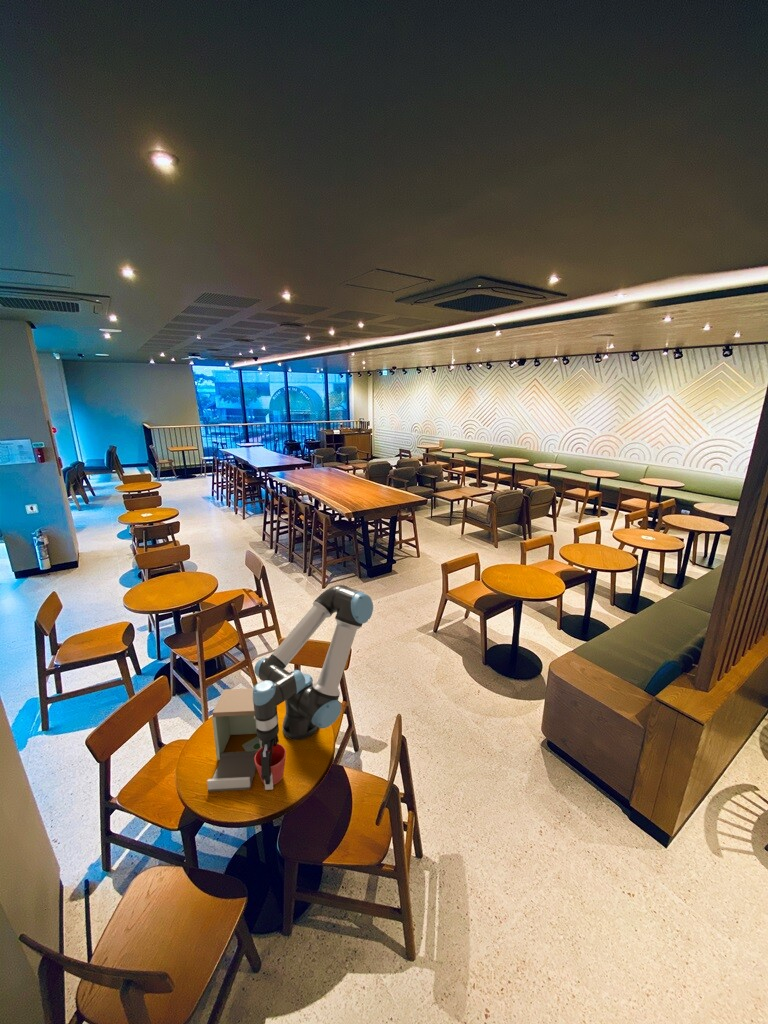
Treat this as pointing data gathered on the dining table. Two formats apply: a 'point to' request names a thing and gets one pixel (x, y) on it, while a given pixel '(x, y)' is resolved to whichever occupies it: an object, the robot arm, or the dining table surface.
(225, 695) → the beige open box
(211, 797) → the dining table surface
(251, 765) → the tray
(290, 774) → the dining table surface
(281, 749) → the flower pot
